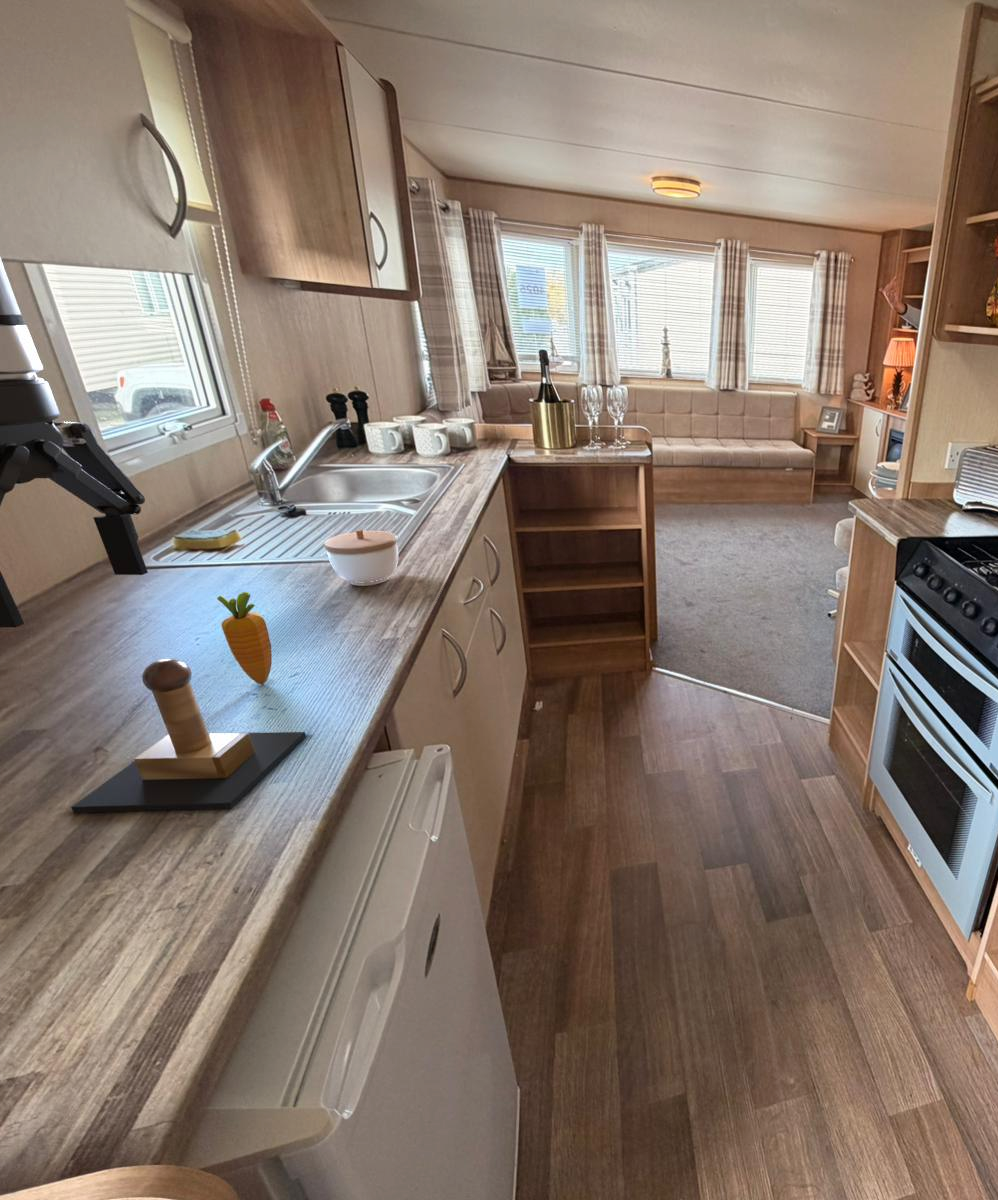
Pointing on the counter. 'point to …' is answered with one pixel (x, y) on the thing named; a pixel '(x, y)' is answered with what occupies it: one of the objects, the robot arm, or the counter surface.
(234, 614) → the carrot
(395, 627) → the counter surface
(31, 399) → the robot arm
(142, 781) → the mat
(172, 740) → the stamp
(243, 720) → the counter surface
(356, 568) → the lidded bowl
